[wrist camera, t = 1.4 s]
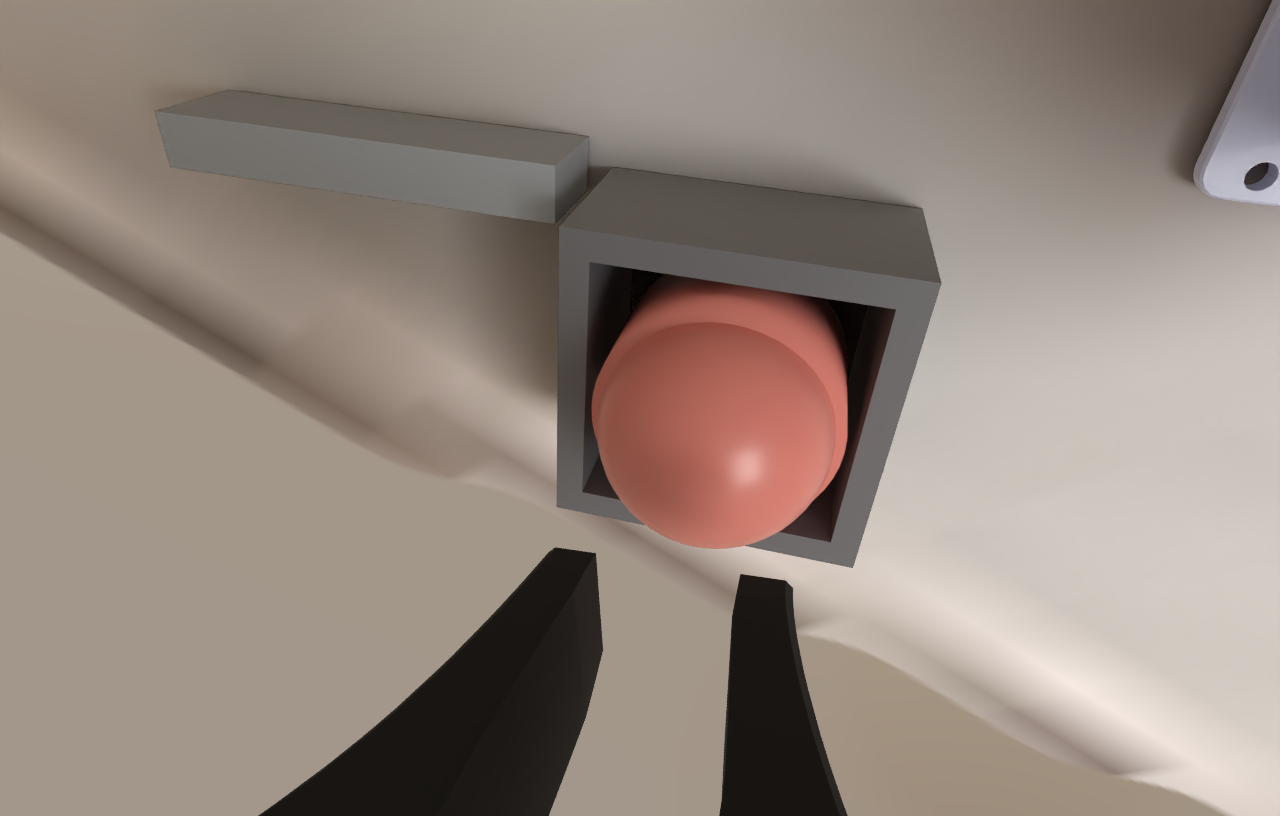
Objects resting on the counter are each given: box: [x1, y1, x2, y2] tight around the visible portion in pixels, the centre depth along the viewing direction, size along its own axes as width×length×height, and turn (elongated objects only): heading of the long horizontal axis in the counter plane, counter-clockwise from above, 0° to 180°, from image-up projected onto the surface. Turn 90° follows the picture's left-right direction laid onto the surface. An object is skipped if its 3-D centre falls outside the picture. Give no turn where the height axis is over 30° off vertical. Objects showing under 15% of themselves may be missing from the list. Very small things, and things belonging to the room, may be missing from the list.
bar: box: [155, 90, 589, 224], centre depth 17 cm, size 9×1×2 cm, turn 86°
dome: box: [591, 274, 847, 549], centre depth 15 cm, size 5×5×5 cm
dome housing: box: [557, 167, 941, 568], centre depth 17 cm, size 7×7×4 cm
